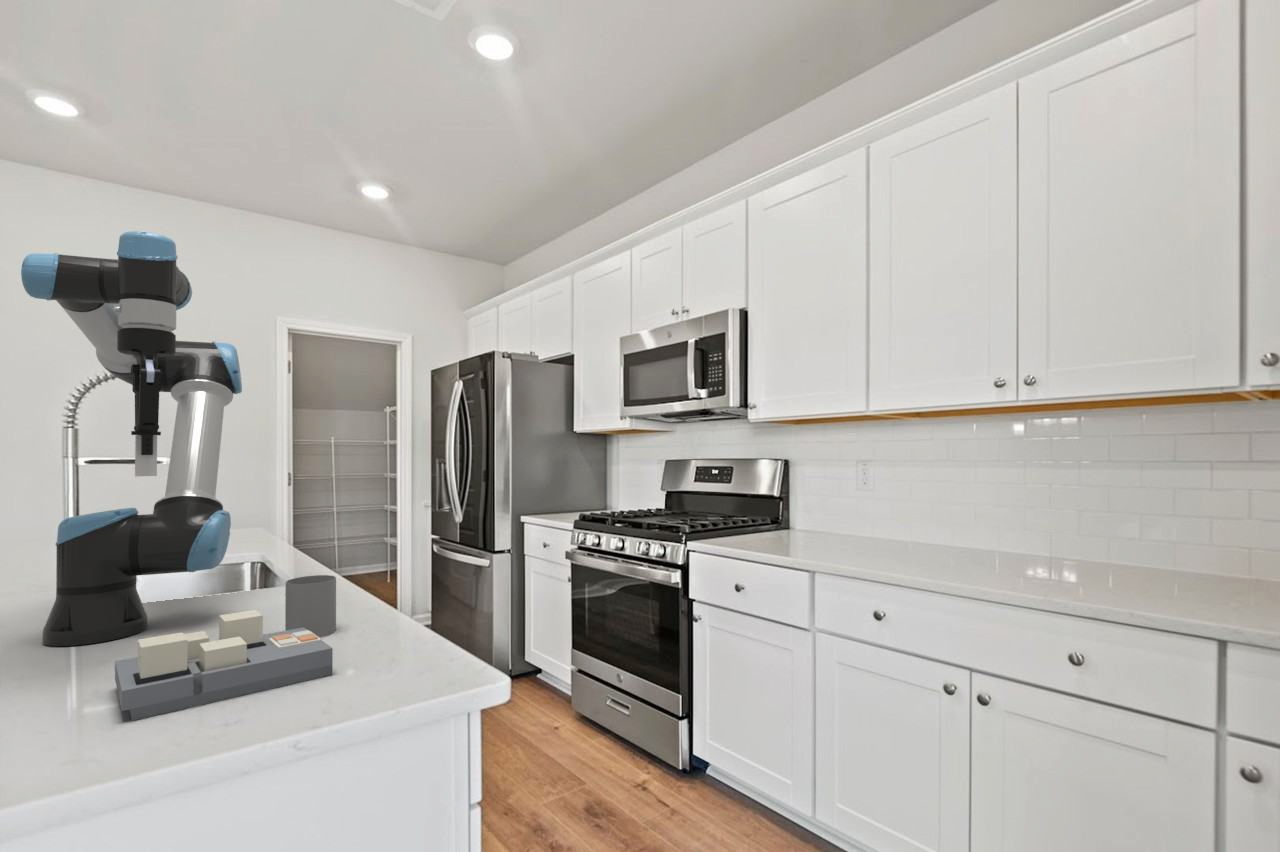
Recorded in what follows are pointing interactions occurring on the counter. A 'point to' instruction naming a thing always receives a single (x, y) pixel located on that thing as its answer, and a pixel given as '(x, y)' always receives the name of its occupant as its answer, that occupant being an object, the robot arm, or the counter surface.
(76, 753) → the counter surface
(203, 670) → the button
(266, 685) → the board
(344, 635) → the counter surface
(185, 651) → the button
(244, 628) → the button
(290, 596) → the cup
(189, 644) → the button
